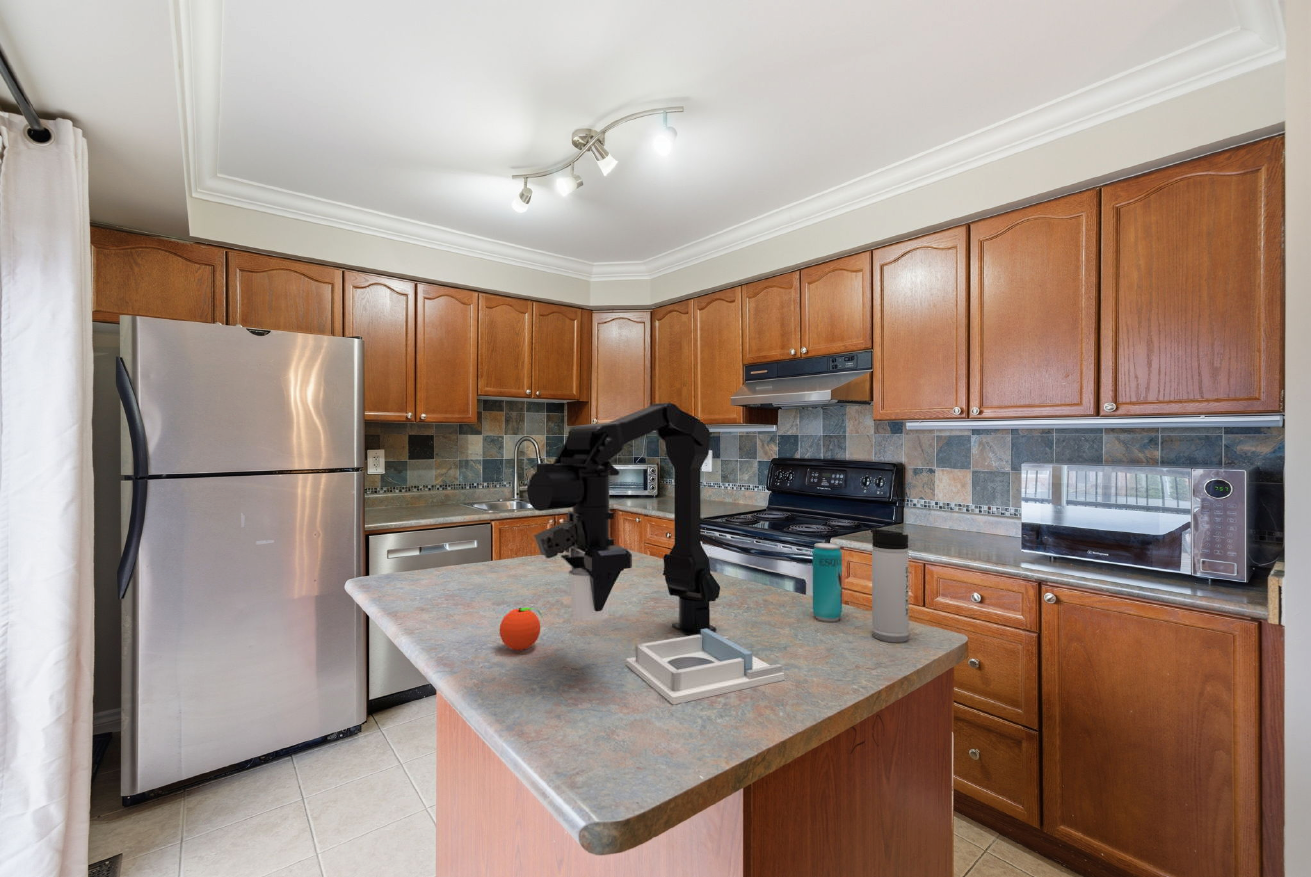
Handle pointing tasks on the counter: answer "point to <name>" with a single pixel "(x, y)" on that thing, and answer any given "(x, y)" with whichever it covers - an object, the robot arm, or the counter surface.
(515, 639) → the clementine
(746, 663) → the gate
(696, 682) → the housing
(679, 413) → the robot arm
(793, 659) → the counter surface
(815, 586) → the beverage can
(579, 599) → the white cup
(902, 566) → the travel mug
